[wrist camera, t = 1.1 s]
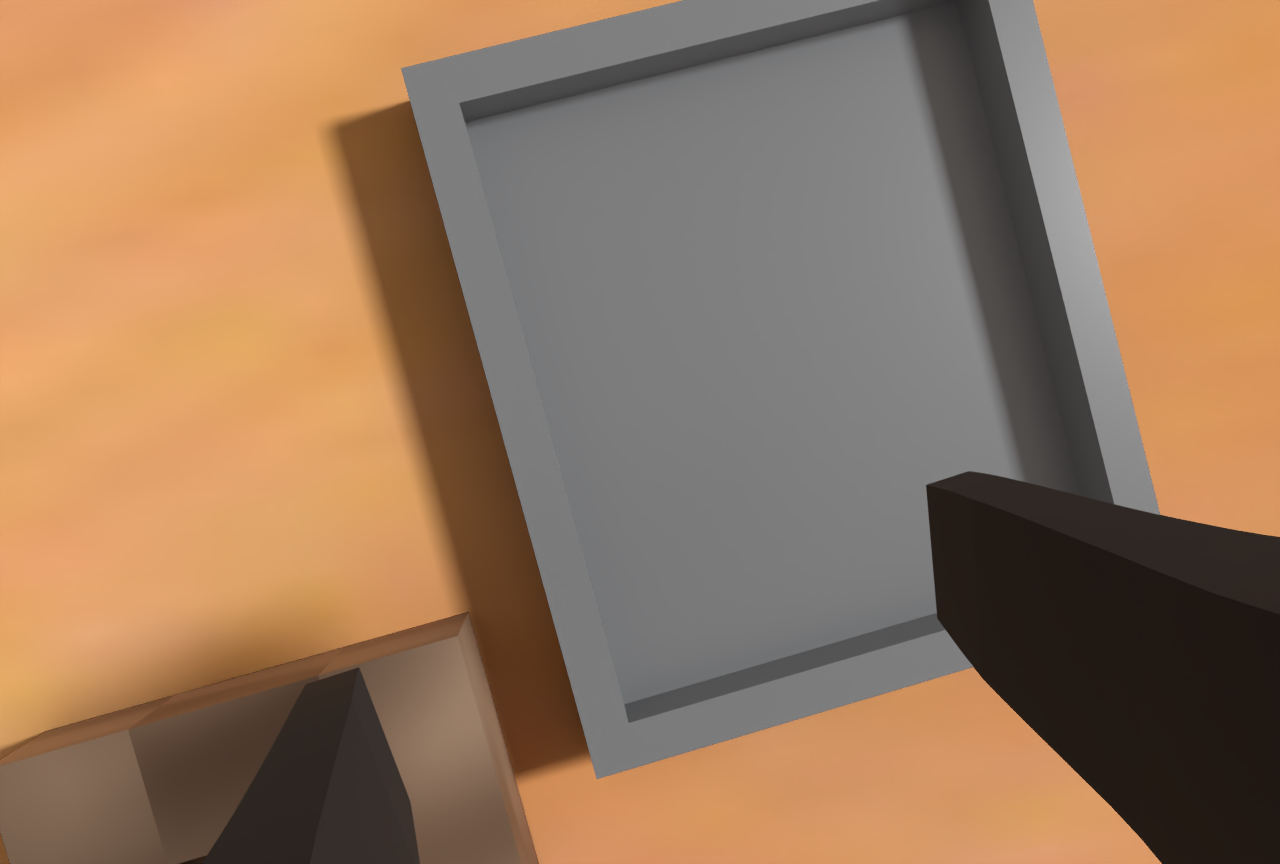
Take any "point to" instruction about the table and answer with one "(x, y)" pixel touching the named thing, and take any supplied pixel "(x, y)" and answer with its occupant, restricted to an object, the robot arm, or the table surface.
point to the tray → (770, 335)
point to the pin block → (237, 745)
